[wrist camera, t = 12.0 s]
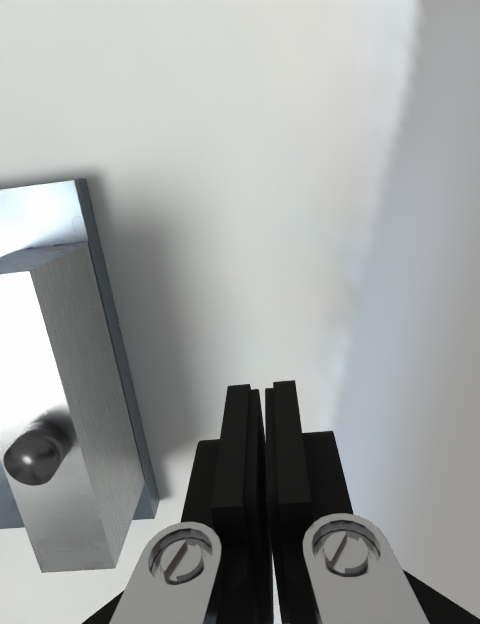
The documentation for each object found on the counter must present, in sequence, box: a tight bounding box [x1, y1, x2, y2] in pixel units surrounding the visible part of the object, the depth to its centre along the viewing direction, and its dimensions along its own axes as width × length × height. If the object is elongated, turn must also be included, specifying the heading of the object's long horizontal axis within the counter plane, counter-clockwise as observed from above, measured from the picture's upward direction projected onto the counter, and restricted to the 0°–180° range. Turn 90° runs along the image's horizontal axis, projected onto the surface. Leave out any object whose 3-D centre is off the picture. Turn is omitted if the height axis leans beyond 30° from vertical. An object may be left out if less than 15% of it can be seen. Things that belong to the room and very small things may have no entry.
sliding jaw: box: [0, 242, 145, 573], centre depth 14 cm, size 10×2×5 cm, turn 7°
